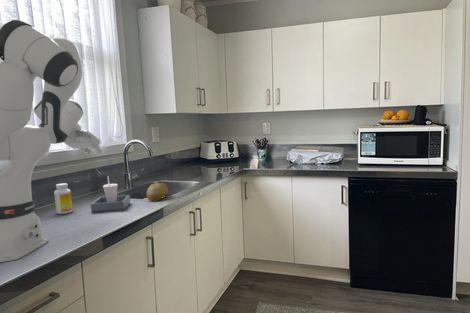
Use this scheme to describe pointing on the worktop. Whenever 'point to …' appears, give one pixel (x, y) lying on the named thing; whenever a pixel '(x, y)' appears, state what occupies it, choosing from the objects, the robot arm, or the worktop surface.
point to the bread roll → (157, 191)
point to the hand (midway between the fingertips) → (94, 152)
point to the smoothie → (110, 191)
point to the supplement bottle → (63, 199)
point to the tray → (110, 204)
